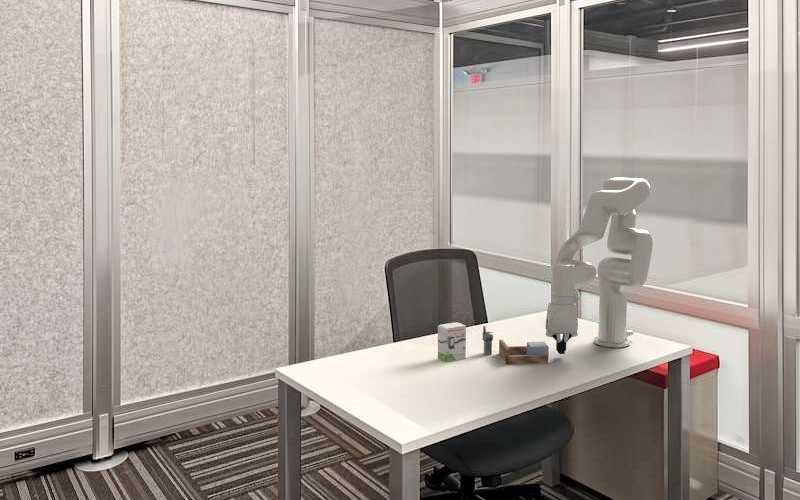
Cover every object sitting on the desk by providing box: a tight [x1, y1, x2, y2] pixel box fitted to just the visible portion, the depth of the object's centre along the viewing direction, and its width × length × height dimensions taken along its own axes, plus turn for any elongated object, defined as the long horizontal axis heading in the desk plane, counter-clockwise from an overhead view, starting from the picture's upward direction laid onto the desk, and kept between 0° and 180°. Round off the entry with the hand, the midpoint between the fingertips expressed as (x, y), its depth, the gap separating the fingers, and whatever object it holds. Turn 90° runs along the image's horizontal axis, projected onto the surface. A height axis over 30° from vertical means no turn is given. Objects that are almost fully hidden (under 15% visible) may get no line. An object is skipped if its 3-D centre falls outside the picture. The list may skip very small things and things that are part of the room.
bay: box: [498, 339, 549, 365], centre depth 226 cm, size 14×12×5 cm
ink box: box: [437, 321, 467, 363], centre depth 226 cm, size 9×5×12 cm, turn 120°
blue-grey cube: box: [526, 341, 550, 360], centre depth 227 cm, size 6×6×5 cm
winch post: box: [482, 325, 494, 356], centre depth 232 cm, size 4×4×10 cm
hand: (561, 353), depth 227 cm, fingers closed
